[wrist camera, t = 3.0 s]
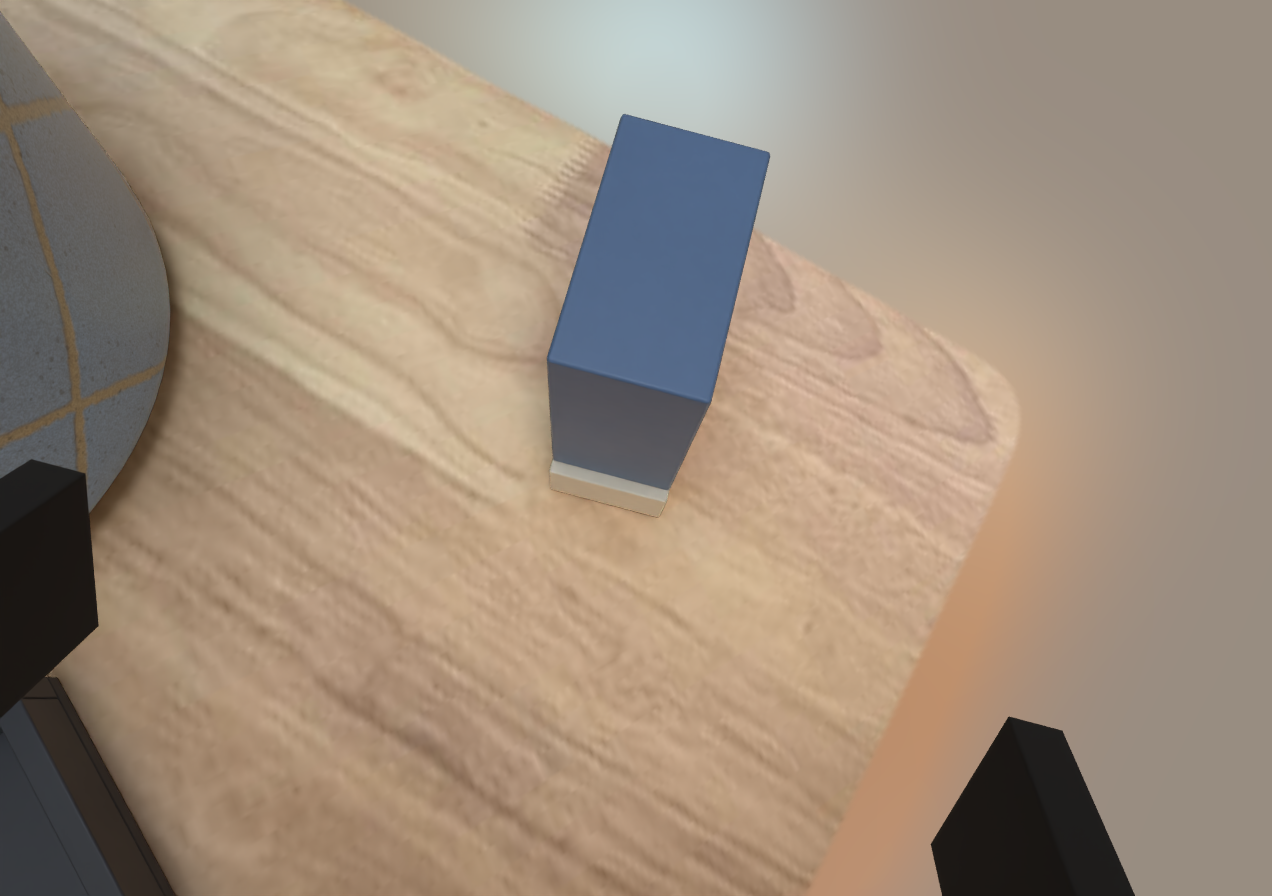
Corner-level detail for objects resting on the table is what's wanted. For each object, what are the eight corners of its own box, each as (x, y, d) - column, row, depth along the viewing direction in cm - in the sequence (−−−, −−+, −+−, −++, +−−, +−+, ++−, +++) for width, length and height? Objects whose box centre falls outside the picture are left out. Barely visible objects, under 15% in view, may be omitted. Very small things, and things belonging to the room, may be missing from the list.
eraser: (659, 518, 30) (707, 419, 20) (549, 489, 30) (540, 375, 20) (707, 320, 33) (774, 138, 22) (607, 293, 33) (625, 98, 22)
